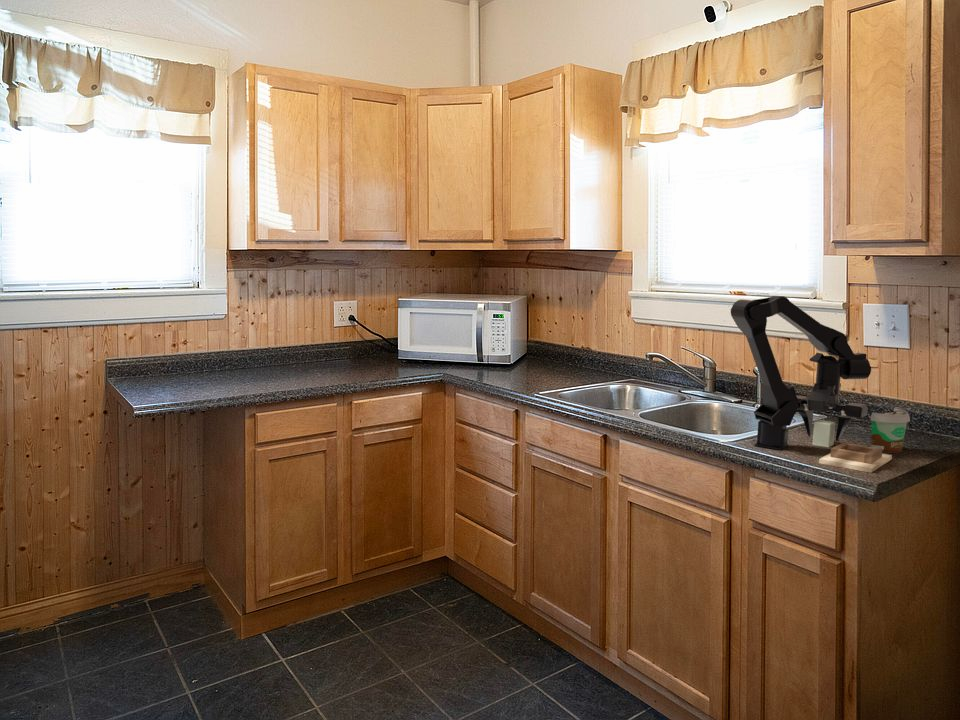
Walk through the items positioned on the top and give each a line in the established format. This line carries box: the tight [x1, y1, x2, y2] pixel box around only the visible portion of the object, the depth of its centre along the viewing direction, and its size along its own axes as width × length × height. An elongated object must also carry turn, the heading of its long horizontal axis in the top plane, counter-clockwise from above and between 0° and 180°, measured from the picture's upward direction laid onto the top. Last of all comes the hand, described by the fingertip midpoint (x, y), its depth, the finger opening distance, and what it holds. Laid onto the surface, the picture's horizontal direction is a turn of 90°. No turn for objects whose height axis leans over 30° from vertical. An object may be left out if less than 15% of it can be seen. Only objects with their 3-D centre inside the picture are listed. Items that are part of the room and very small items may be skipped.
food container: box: [869, 407, 911, 454], centre depth 197 cm, size 12×6×10 cm, turn 126°
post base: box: [818, 442, 893, 474], centre depth 187 cm, size 12×17×3 cm
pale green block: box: [812, 419, 836, 448], centre depth 203 cm, size 4×4×6 cm
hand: (823, 438), depth 203 cm, fingers open, 7 cm apart
